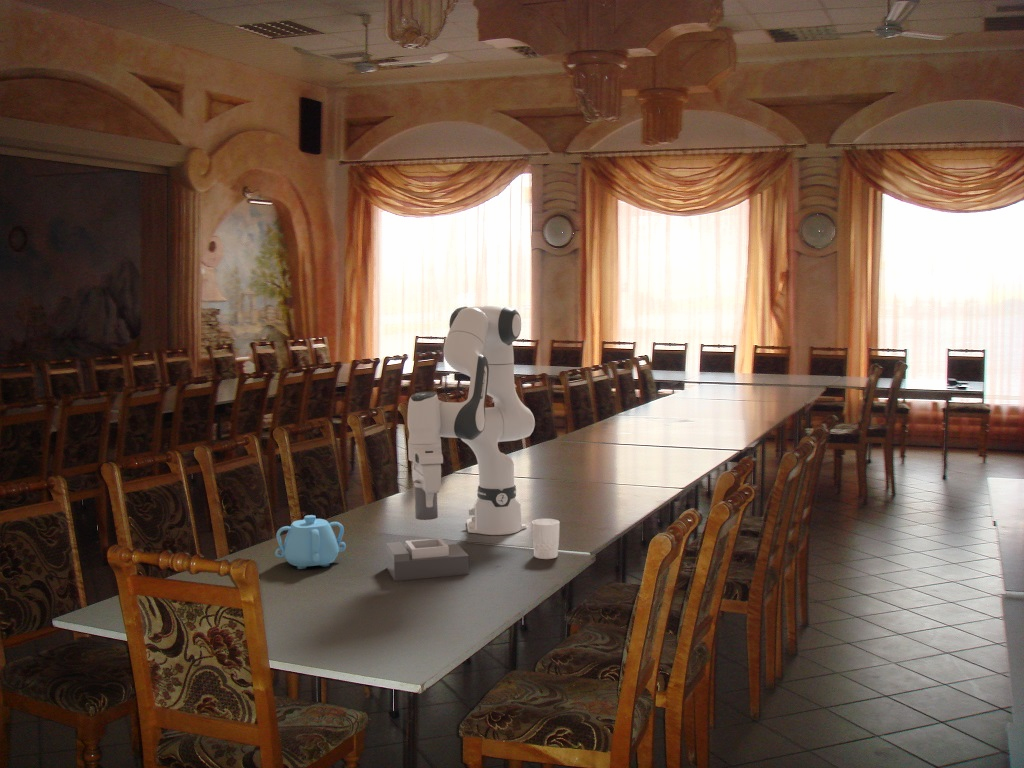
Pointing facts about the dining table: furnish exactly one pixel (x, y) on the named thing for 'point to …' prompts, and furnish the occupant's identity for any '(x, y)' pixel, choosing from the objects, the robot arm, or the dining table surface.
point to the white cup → (545, 538)
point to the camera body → (425, 559)
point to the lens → (420, 507)
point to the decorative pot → (310, 542)
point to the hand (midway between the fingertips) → (426, 504)
